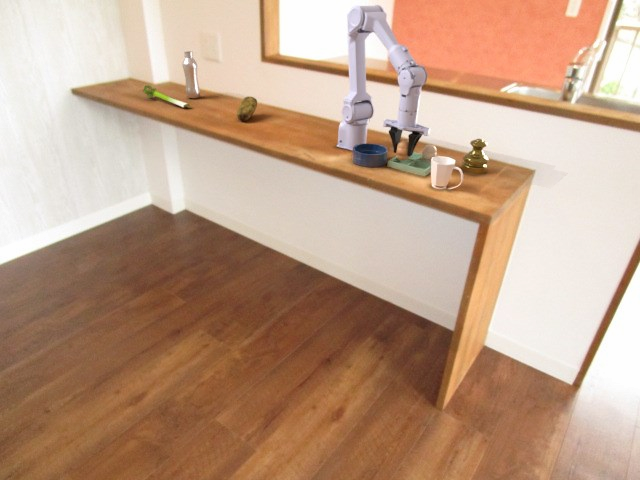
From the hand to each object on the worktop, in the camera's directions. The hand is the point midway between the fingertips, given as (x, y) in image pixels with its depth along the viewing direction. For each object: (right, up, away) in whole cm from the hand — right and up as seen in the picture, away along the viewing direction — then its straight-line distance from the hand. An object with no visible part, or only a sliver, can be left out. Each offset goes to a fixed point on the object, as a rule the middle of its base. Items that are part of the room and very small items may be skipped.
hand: (402, 153), depth 142 cm
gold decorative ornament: (+22, -5, +1) cm, 23 cm away
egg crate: (+4, -4, +3) cm, 6 cm away
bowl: (-10, -2, +5) cm, 11 cm away
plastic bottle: (-85, +39, +71) cm, 117 cm away
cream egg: (+8, -3, +3) cm, 10 cm away
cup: (+10, -12, -11) cm, 19 cm away
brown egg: (0, -2, +1) cm, 2 cm away
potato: (-55, +22, +44) cm, 75 cm away
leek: (-94, +34, +62) cm, 118 cm away
